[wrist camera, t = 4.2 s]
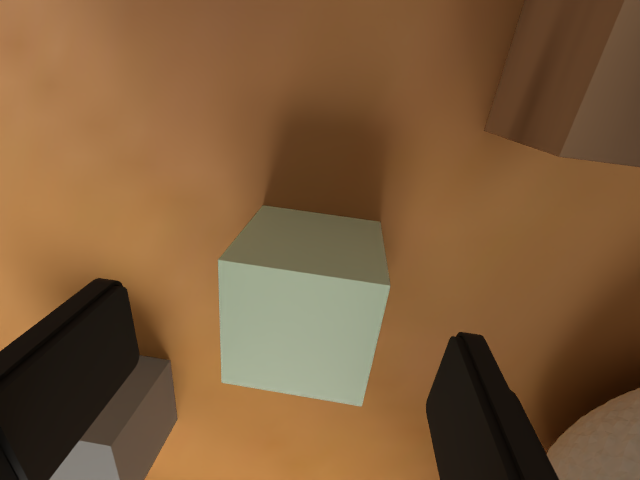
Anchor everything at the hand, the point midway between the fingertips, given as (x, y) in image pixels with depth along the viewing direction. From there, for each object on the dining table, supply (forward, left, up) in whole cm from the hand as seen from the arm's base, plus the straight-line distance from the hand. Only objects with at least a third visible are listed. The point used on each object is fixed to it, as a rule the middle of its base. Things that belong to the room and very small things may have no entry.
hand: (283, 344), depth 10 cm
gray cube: (+10, +10, -6) cm, 15 cm away
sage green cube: (0, 0, -6) cm, 6 cm away
